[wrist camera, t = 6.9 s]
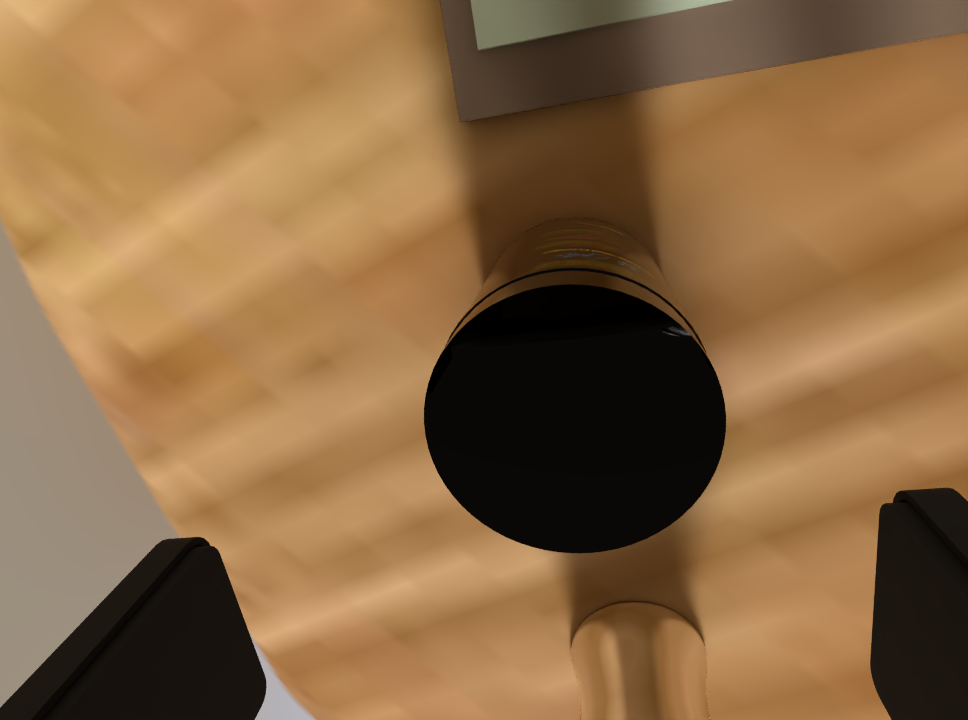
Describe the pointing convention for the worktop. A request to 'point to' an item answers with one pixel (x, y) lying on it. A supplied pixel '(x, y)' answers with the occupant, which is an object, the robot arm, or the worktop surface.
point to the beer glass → (640, 665)
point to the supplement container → (575, 395)
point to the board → (658, 43)
